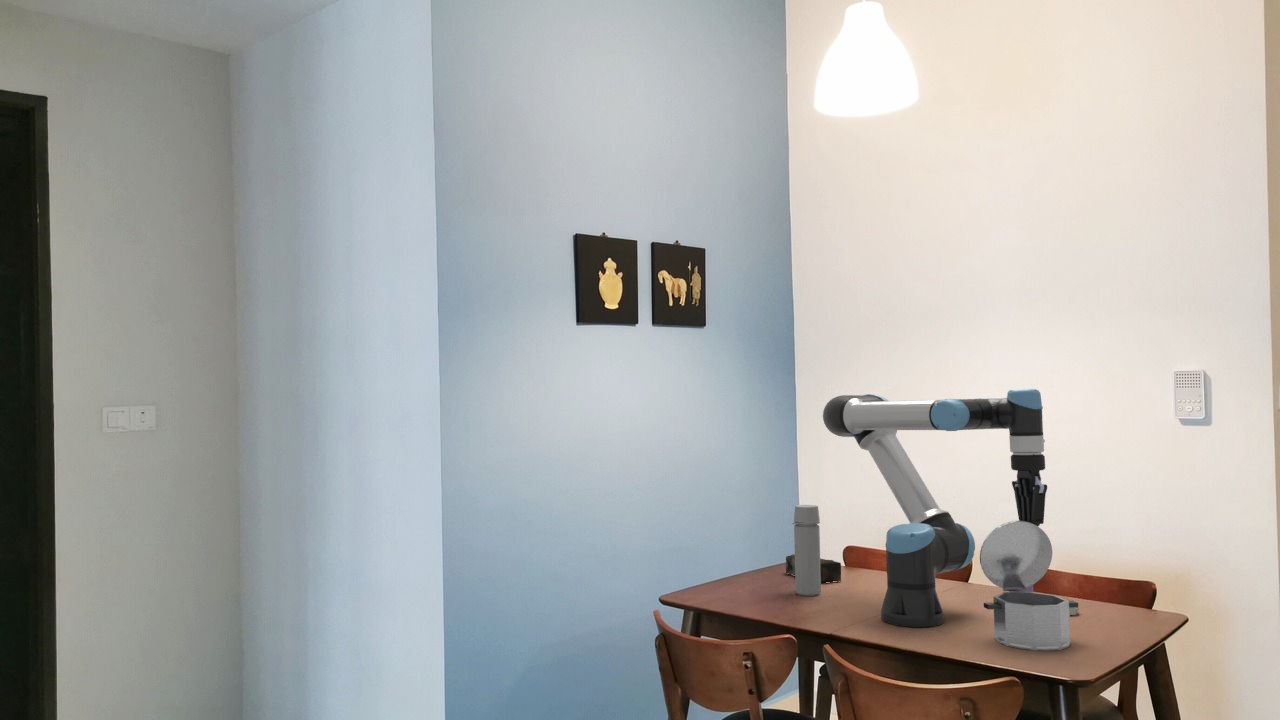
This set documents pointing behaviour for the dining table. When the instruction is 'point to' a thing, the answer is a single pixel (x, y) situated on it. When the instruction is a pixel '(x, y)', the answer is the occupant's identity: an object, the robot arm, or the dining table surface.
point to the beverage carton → (827, 569)
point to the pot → (1031, 620)
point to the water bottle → (807, 550)
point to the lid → (1016, 555)
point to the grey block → (1072, 609)
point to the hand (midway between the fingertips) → (1032, 553)
